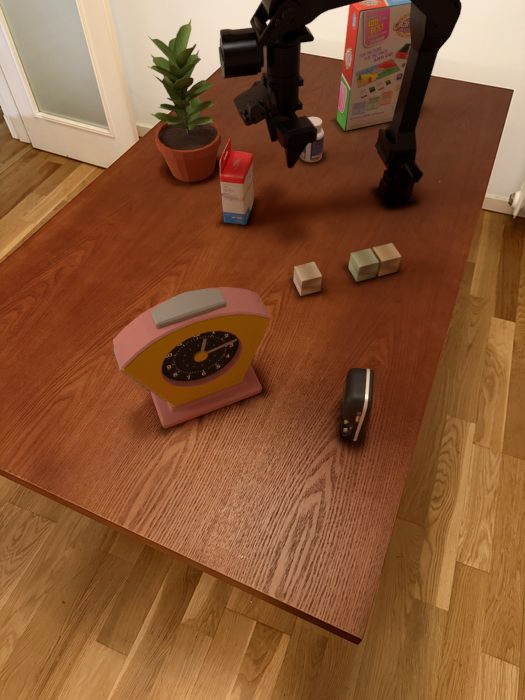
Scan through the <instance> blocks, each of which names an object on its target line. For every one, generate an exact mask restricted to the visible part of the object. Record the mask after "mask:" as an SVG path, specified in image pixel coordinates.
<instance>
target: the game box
mask: <svg viewBox="0 0 525 700" xmlns="http://www.w3.org/2000/svg"><path fill="white" fill-rule="evenodd" d="M410 8H411V1H410V0H365V1H362V2H358V3H354V4H350V5H348V15H347V23H346V31H345V32H346V33H345V41H344V49H343V50H344V51H343V60H342V69H341V78H340V88H339V97H338V105H337V115H336V122H337V123H338V124H339V126H340V127H341V128H342V130H343V131H344V132H347V131H352V130H357V129H361V128H366V127H370V126H376V125H380V124H381V125H382V124H385V123H386V124H387V123H391V122H392V119H393V115H394V111H395V107H396V103H397V99H398V95H399V91H400V87H401V83H402V79H403V75H404V71H405V67H406V63H407V59H408V54H409V50H410V46H411V35H410V23H409V20H410Z"/></svg>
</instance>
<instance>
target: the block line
mask: <svg viewBox="0 0 525 700" xmlns="http://www.w3.org/2000/svg"><path fill="white" fill-rule="evenodd" d="M401 260H402V255H401V253H400V252H399V251H398V249H397V248H396V246H395V245H394V243H392V242H389V243H386V244H381V245H377V246H373V247H372V249H371V248H365V249H362V250H361V249H360V250H358V251H353V252H350V256H349V261H348V266H347V268H348V270H349V272H350V273H351V275H352V277H353V278H354V280H355V282H356V283H358V282H361V281H365V280H369V279H373V278H376V277H377V276H378V277H381V276H384V275H385V276H386V275H389V274H393V273H398V270H399V266H400V263H401ZM322 280H323V275H322V273H321V271H320V269H319V267H318V266H317V264H316V262H315V261H311V262H308V263H302V264H298V265H294V266H293V281H292V282H293V284H294V285H295V287H296V290H297V291H298V294H299V295H300V296H301V297H302V296H307V295H311V294H314V293H318V292H321V288H322Z"/></svg>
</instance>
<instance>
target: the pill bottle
mask: <svg viewBox="0 0 525 700" xmlns="http://www.w3.org/2000/svg"><path fill="white" fill-rule="evenodd" d="M308 118H309V119H310V120H311V122H312V123H313V124H314V126H315V127H316V128H317V140H316V142H313V143H309V144H308V145H307V146H306V148H305V149H304V150H303V152H302V154H301V155H300V157H299V158H300V159H301V160H302V161H304V162H306V163H316V162H319V161H320V160H321V159H322V158H323V152H324V139H325V131H324V129H323V120H322V118H320V117H319V116H308Z"/></svg>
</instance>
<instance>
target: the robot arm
mask: <svg viewBox="0 0 525 700" xmlns="http://www.w3.org/2000/svg"><path fill="white" fill-rule="evenodd" d="M362 1H365V0H261V1H260V3H259V4H258V6H257V8H256V10H255V11H254V13H253V15H252V17H251V19H250V20H249V24H250V26H251V27H245V28H235V29H231V28H222V29H220V30H219V46H218V58H219V64H220V70H221V75H222V78H223V79H224V80H225V79H226V80H227V79H234V78H242V77H250V76H251V77H252V76H258V74H260V73H261V76H260V80H255V81H254V82H253V84H252V85H251V86H250V88H247V89H246V90H245V91H243V92H241V93H239V94H238V95H236V96H235V97H234V98H233V104H234V105H235V108H236V111H237V113H238V115H239V118H241V120H242V122H243V124H244V125H245V126H247V127H250V126H252V125H257V124H259V123H260V122H262V121H264V120H265V124H266V128H267V132H268V135H269V140H270V141H271V143H274V142H277V141H278V143H279V144H280V146H281V147H282V148H284V154H285V161H286V167H287V168H288V169H292V168H294V167H295V165H296V164H297V162H298V160H299V158H301V157H300V155H301V154H302V152H303V150H304V149H305V148H306V146H307V145H308V144H309V143H313V142H316V140H317V128H316V127H315V126H314V124H313V123H312V122H311V120H310V119H309V118H308V117H309V116H308V117H307V115H303V116H298V114H297V113H296V112H297V111H301V110H303V107H304V105H303V102H302V101H301V99H300V87H304V85H305V84H304V83H305V82H304V81H305V79H304V78H303V76H301V75H300V74H301V53H302V52H301V51H302V49H301V48H302V44H305V43H312V42H314V41H315V37H314V35H313V33H312V31H311V29H310V28H309V27H308V26H307V25H310V24H311V23H312V22H314V20H315V21H316V19H317V18H318V17H319V16H321V15H322V14H324V13H327V12H328V11H331V10H334V9H339V8H343V7H346V6H349V5H350V4H354V3H358V2H362ZM410 1H411V8H410V20H409V23H410V35H411V46H410V50H409V54H408V59H407V63H406V67H405V71H404V75H403V79H402V83H401V87H400V91H399V95H398V99H397V103H396V107H395V111H394V115H393V119H392V121H391V122H390V124H389V125H387V126H386V128H379V129H378V132H377V133H378V136H377V139H376V142H375V144H374V147H375V149H376V152H377V155H378V157H379V158H380V160H381V162H382V163H383V165H384V167H385V169H384V170H383V173H382V177H381V178H380V180H379V184H378V187H376V188H375V193H376V194H377V195H378V197H379V198H380V199H381V201H382V202H383V203H384V205H385V206H386V207H387V208H393V207H399V206H402V205H403V206H404V205H407V204H411V203H414V202H415V198H414V197H413V195H412V193H413V190H414V187H415V184H417V183H419V182H420V180H421V179H422V177H423V176H424V172H423V170H422V169H421V168H420V166H419V165H418V163H417V162H416V160H417V159H416V157H417V152H418V151H417V150H418V144H417V132H416V130H417V125H418V122H419V119H420V115H421V112H422V109H423V106H424V101H425V98H426V94H427V91H428V87H429V85H430V80H431V77H432V75H433V71H434V67H435V64H436V60H437V57H438V55H439V54H438V53H439V52H440V49H441V48H442V47H443V46H444V45H445V44H446V43H447V41H448V40H449V39H450V38H451V36H452V34H453V32H454V30H455V28H456V25H457V23H458V21H459V19H460V16H461V13H462V9H463V8H462V1H461V0H410ZM268 21H269V22H268ZM264 48H265V53H264ZM264 65H265V71H263V72H262V68H264Z"/></svg>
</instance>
